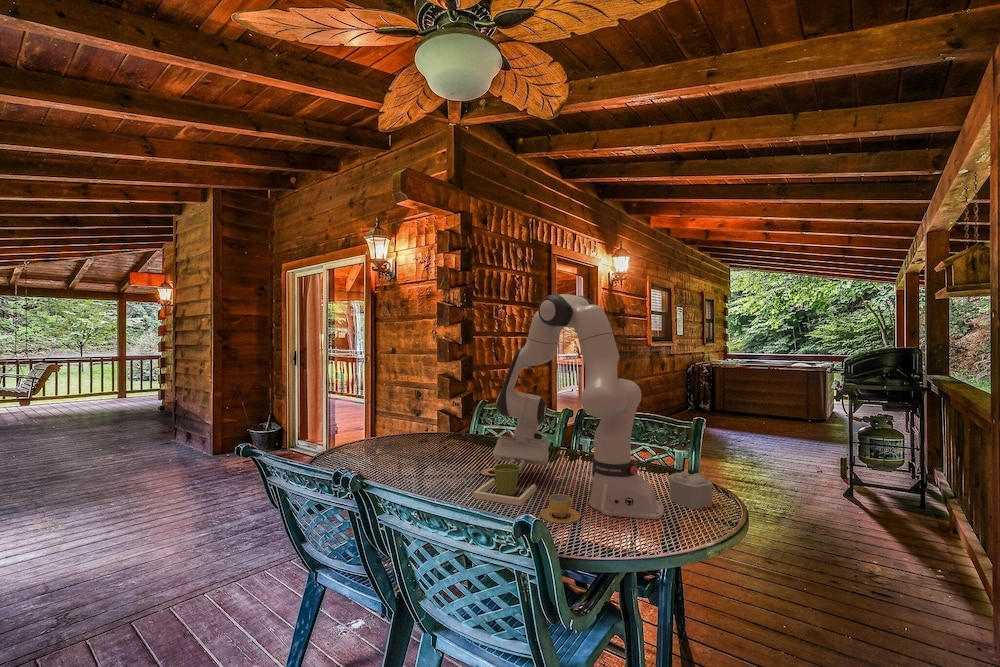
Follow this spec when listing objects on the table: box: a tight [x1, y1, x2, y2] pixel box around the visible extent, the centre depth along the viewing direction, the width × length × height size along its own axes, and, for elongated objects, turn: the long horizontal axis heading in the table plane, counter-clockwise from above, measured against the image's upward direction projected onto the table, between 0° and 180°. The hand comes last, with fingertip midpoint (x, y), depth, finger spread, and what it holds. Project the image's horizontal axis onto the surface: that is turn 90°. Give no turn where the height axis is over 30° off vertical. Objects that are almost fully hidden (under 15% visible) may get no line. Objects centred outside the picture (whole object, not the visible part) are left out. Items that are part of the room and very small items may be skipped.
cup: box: [539, 493, 582, 524], centre depth 136 cm, size 12×12×5 cm
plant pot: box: [492, 463, 521, 497], centre depth 155 cm, size 9×9×9 cm
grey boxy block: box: [668, 470, 713, 510], centre depth 148 cm, size 10×13×9 cm
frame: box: [472, 478, 537, 507], centre depth 153 cm, size 16×15×2 cm
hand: (515, 472), depth 163 cm, fingers closed
